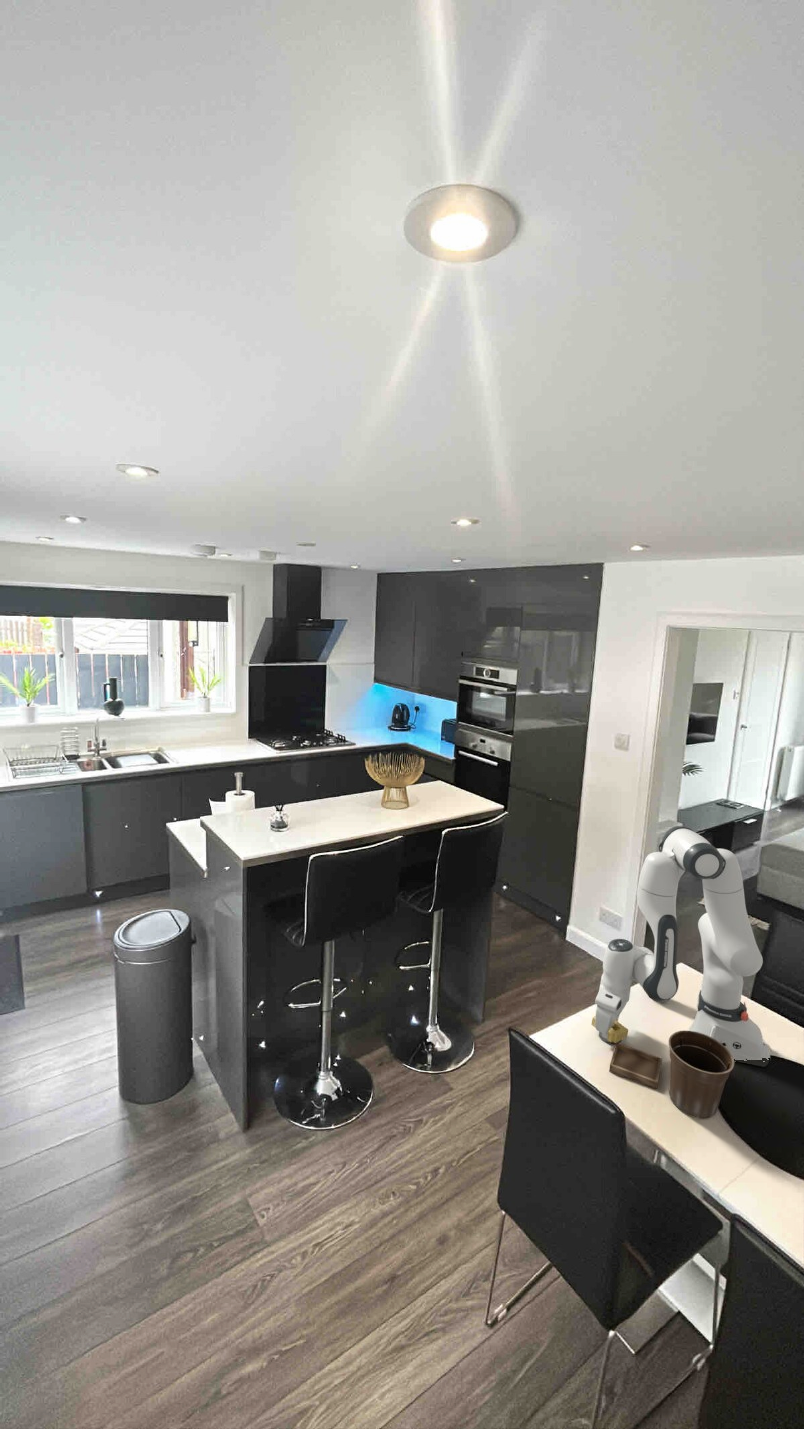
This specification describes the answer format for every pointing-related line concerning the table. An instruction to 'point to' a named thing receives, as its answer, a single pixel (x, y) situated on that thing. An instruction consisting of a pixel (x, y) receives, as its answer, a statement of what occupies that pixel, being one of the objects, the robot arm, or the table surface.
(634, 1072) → the tray
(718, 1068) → the plant pot
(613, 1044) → the silver knob
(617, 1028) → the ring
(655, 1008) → the table surface
